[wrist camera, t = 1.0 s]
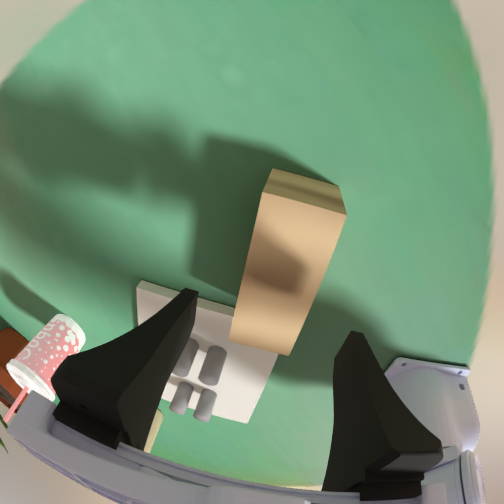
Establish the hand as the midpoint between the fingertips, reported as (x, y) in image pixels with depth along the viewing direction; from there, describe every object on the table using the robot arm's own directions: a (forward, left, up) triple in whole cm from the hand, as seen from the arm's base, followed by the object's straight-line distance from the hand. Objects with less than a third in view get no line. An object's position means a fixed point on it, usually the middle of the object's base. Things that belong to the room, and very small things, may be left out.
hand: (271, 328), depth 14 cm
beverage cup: (+20, +17, -8) cm, 27 cm away
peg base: (+4, +14, -7) cm, 16 cm away
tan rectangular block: (0, 0, -8) cm, 8 cm away
